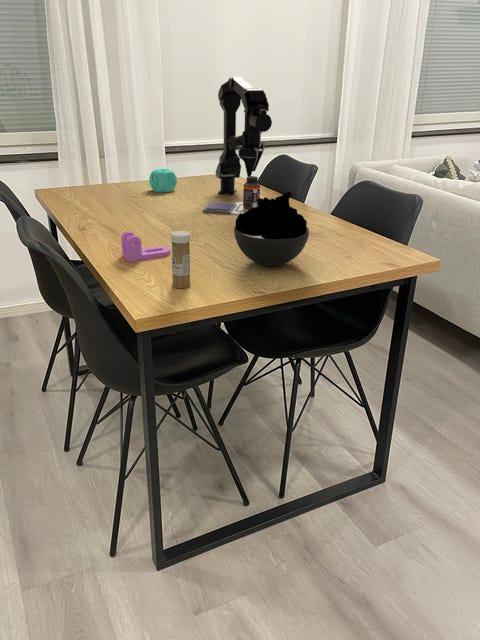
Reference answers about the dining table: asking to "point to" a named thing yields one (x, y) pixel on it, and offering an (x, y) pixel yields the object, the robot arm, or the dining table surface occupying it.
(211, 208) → the ink pad
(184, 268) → the sprinkles bottle
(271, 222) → the coal bowl
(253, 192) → the supplement bottle
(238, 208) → the form board
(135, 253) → the bracket
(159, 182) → the decorative dice
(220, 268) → the dining table surface
